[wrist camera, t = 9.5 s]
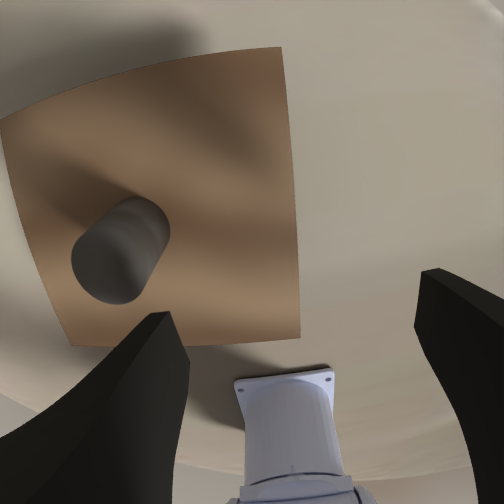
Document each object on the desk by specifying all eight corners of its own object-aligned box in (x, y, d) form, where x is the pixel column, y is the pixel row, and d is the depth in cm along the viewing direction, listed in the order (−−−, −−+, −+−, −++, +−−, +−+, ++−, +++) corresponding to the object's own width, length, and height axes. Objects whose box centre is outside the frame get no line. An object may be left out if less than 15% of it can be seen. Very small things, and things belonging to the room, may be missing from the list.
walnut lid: (298, 327, 16) (309, 391, 12) (76, 337, 17) (47, 387, 13) (279, 50, 10) (293, 23, 7) (8, 118, 11) (-52, 133, 7)
